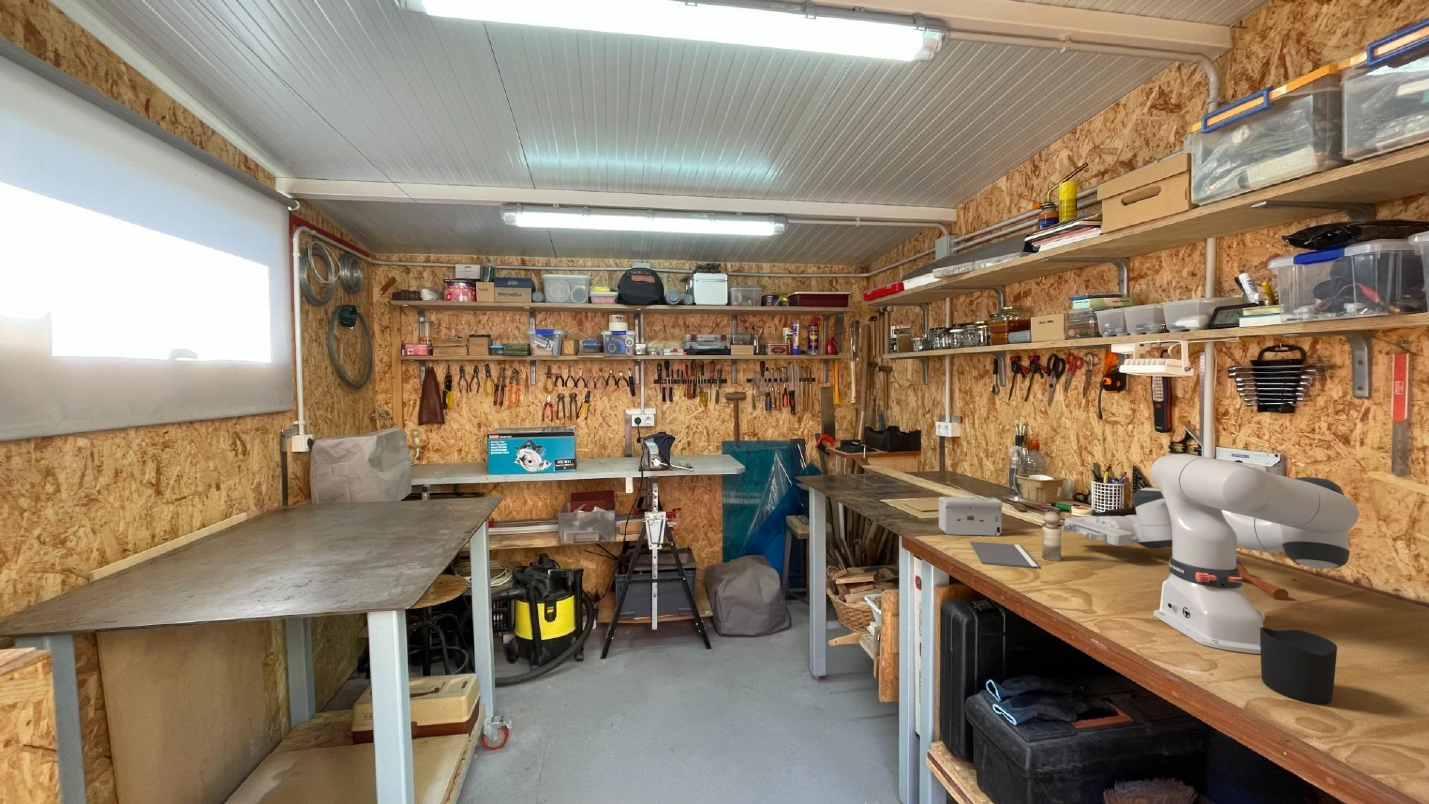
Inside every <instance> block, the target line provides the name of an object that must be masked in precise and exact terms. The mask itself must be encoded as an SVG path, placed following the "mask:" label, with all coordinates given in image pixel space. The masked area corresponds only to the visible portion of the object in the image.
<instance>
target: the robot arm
mask: <svg viewBox="0 0 1429 804" xmlns="http://www.w3.org/2000/svg"><path fill="white" fill-rule="evenodd" d="M1150 478H1151V480H1152V482H1153V484H1154V485H1155V486H1156V487H1144V488H1141V489H1137V490H1136V491H1135V492H1134V494H1133V495H1132V497H1131V500H1132V504H1133V508H1134V509H1135V514H1128V515H1124V516H1122V515H1098V514H1097V515H1096V514H1086V516H1073V517H1067V518H1065V520H1064V524H1062V526H1061V531H1063V532H1065V533H1067V532H1073V533H1076V534H1078V535H1082V536H1084V537H1086V540H1090V541H1097V542H1098V541H1100V542H1103V543H1106V544H1108V545H1112V546H1116V547H1122V546H1128V545H1132V544H1133V543H1137V544H1138V545H1141V546H1143V547H1144V548H1147V549H1160V548H1172V549H1171V550H1172V553H1171V556H1170V557H1169V561H1168V567H1169V569H1168V570H1169V572H1170V574H1169V576H1168V577H1167V578H1166V579H1165V580H1164V581H1163V582H1162V585H1161V586H1162V587H1161V595H1160V603H1159V609H1155V610H1153V615H1152V616H1154V617H1155V618H1157V619H1159V620H1161V621H1162V622H1163V623H1166V625H1168V626H1171V627H1172V628H1173V629H1175V630H1176V631H1178V632H1180V633H1181V634H1183V635H1185V636H1187V637H1188V638H1190V639H1192V640H1193V641H1195V642H1197V643H1198V644H1200V645H1203V646H1207V647H1211V648H1214V649H1215V648H1216V649H1219V650H1224V651H1230V652H1238V653H1244V654H1245V653H1247V654H1256V655H1261V648H1260V628H1261V627H1264V623H1263V622H1265V621H1266V616H1265V613H1264V611H1262V610H1259V609H1256V608H1255V606H1254V605H1253V603H1252V600H1251V598H1249V597H1248V596H1247V594H1246V593H1245V592H1244V590H1243V588H1242V586H1243V581H1242V580H1243V578H1241V575H1240V573H1239V569H1238V567H1237V566H1236V559H1237V551H1238V550H1237V548H1238V547H1240V548H1242V549H1244V550H1250V551H1255V552H1264V553H1285V555H1286V557H1287V558H1289V560H1290V561H1292V562H1293V563H1295V564H1299V565H1302V566H1305V567H1309V568H1313V569H1317V570H1319V569H1320V570H1321V569H1322V570H1323V569H1325V570H1326V569H1337V568H1338V569H1339V568H1341V567H1343V566H1345V565H1347V563H1348V561H1349V559H1350V552H1351V551H1350V550H1349V549H1348V548H1349V542H1350V541H1349V540H1350V538H1349V536H1350V534H1349V533H1350V529H1352V528H1353V527H1354V526H1355V525H1356V524H1357V522H1358V520H1359V517H1360V516H1359V515H1360V513H1359V509H1358V507H1357V505H1356V503H1355V502H1354V501H1353V500H1352V499H1351V498H1349V497H1347V496H1346V495H1345V493H1344V492H1343V490H1342V487H1341V486H1339V485H1338V484H1337V483H1335V482H1334V481H1333V480H1331V479H1326V478H1321V477H1313V476H1303V477H1302V476H1301V477H1294V478H1293V477H1289V476H1285V475H1281V474H1276V473H1273V472H1269V471H1265V470H1262V469H1260V468H1256V467H1253V466H1249V465H1246V464H1244V463H1243V464H1242V463H1239V462H1235V461H1230V460H1223V459H1217V458H1212V457H1208V456H1207V457H1205V456H1202V455H1201V456H1200V455H1195V454H1191V453H1178V454H1177V453H1173V454H1167V455H1163V456H1161V457H1159V458H1158V459H1156V460H1155V461H1154V463H1153V464H1152V466H1151V469H1150ZM1237 546H1238V547H1237Z"/></svg>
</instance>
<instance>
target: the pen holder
mask: <svg viewBox="0 0 1429 804" xmlns="http://www.w3.org/2000/svg"><path fill="white" fill-rule="evenodd" d="M1260 648H1261V654H1260V670H1261V671H1260V672H1261V673H1260V674H1261V680H1262V683H1264V685H1265V686H1266V687H1267V688H1269V689H1270V690H1272V691H1273V692H1276V693H1278V694H1280V695H1281V696H1284V697H1287V698H1289V699H1293V700H1296V701H1299V702H1303V703H1310V704H1313V705H1325V704H1329V703H1331V702H1332V700H1333V695H1334V687H1335V677H1336V676H1335V675H1336V667H1337V655H1338V654H1337V652H1338V645H1337V644H1336V643H1335V642H1333V641H1332V640H1330V639H1327V638H1325V637H1324V636H1321V635H1319V634H1315V633H1312V632H1309V631H1306V630H1301V629H1281V630H1278V629H1277V630H1276V629H1275V630H1274V629H1271V628H1269V627H1264V626H1263V627H1261V628H1260Z"/></svg>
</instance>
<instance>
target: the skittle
mask: <svg viewBox="0 0 1429 804" xmlns="http://www.w3.org/2000/svg"><path fill="white" fill-rule="evenodd" d="M1043 522H1044V523H1045V525H1044V526H1042V527H1041V528H1042V532H1041V533H1042V539H1041V541H1042V543H1041V547H1042V549H1041V551H1042V552H1041V556H1042V557H1041V558H1042V559H1043V560H1045V561H1050V562H1061V561H1062V559H1061V558H1062V557H1061V556H1062V555H1061V554H1062V553H1061V552H1062V551H1061V550H1062V546H1061V545H1062V527H1058V525H1059V524H1060V522H1061V517H1060V515H1059V514H1058V513H1057V512H1055V511H1047V512H1045V513H1044V514H1043Z"/></svg>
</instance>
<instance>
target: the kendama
mask: <svg viewBox="0 0 1429 804" xmlns="http://www.w3.org/2000/svg"><path fill="white" fill-rule="evenodd" d="M1236 566H1237V567H1238V569H1239V573H1240V575H1241V578H1243V579H1244V580H1245V579H1246V580H1248V581H1249V582H1251V583H1252V584H1253V585H1255V586H1257V587H1258V588H1259V589H1261V590H1262V591H1263V592H1264V593H1266V594H1267V595H1269V596H1270V597H1272V598H1273V599H1274V600H1276V601H1285V600H1287V599H1288V597H1289V592H1288V590H1287V589H1285V588H1282V587H1279V586H1277V585H1274V584H1272V583H1269V582H1267V581H1265V580H1261V579H1260V578H1256V577H1254V576H1252V575H1250V574H1249V572H1248V570H1247V569H1246V567H1245V566H1244V565H1243V563H1242V562H1241V561H1240V560H1239V559H1238V558H1236ZM1243 579H1242V580H1243Z"/></svg>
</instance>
